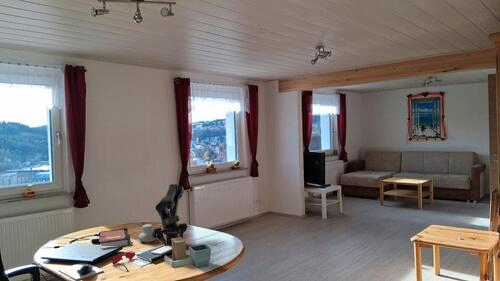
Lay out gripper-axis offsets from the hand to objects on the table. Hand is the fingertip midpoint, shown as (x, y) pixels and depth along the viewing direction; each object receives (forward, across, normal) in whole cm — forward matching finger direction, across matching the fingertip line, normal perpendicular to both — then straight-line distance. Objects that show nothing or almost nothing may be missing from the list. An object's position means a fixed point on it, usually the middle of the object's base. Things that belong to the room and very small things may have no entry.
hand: (174, 243), depth 204 cm
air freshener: (-22, -3, +33) cm, 39 cm away
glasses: (+3, -22, +8) cm, 24 cm away
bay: (+10, 0, 0) cm, 10 cm away
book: (-31, -21, +43) cm, 57 cm away
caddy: (+10, 0, 0) cm, 10 cm away
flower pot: (+19, +6, -9) cm, 22 cm away
